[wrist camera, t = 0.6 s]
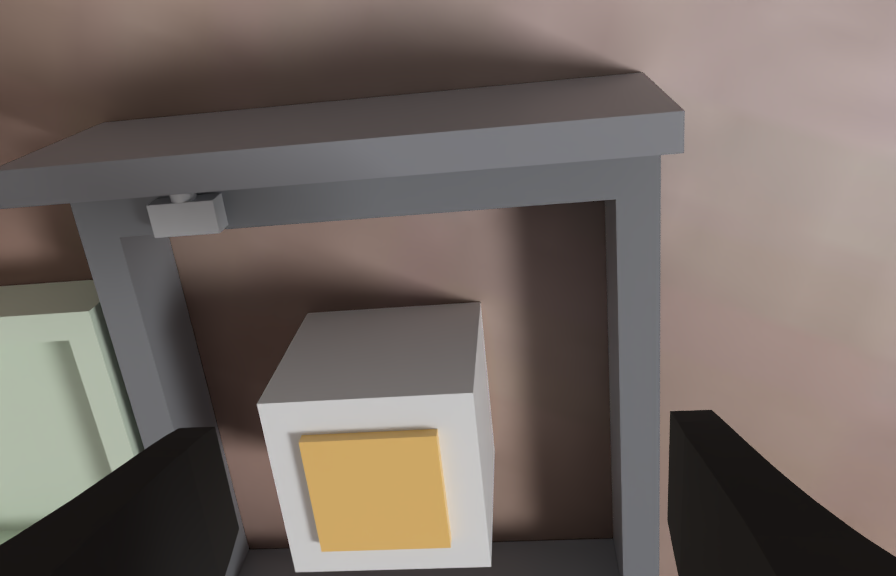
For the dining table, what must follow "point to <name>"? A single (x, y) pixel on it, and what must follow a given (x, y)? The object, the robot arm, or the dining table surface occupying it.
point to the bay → (57, 400)
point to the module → (384, 439)
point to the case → (371, 196)
